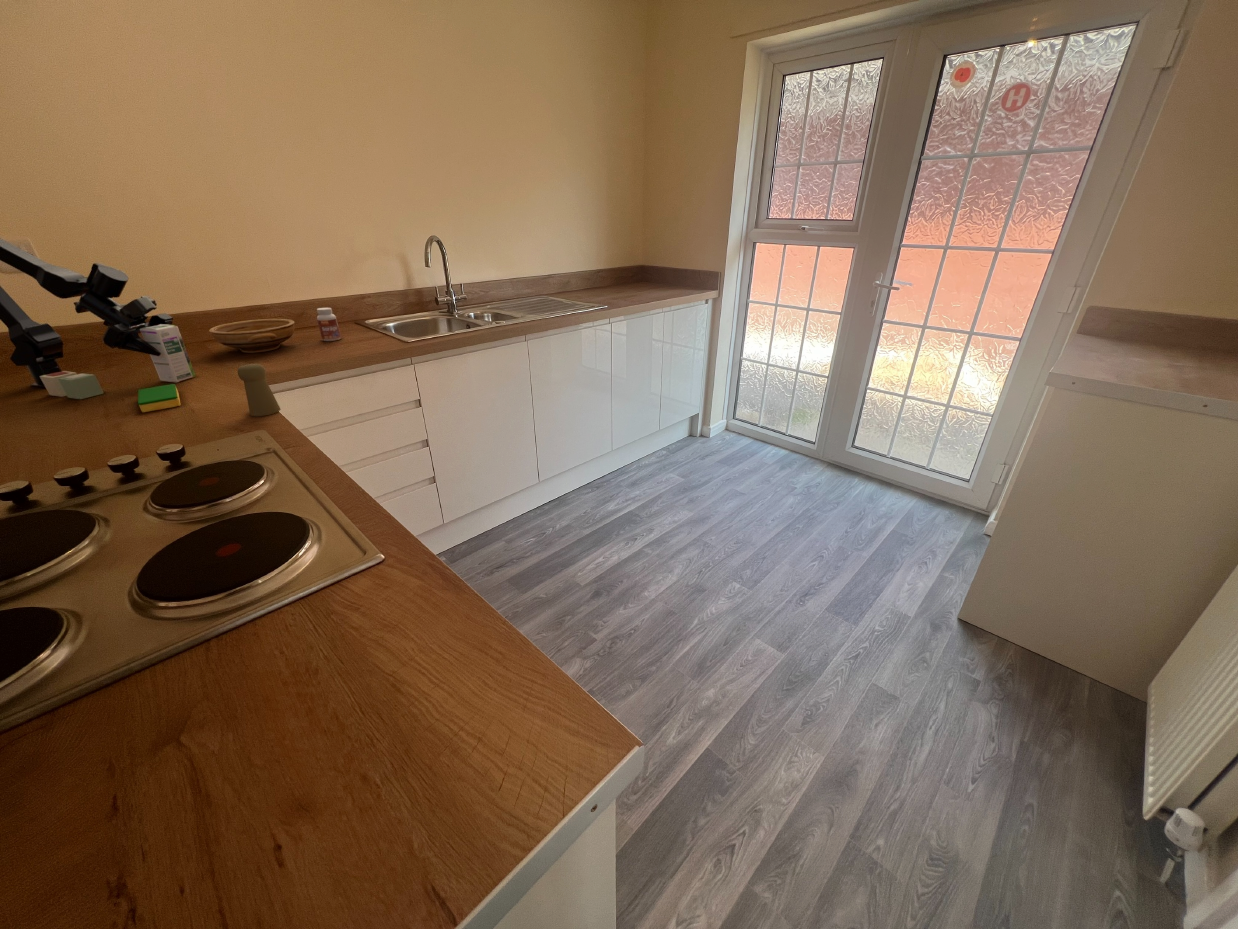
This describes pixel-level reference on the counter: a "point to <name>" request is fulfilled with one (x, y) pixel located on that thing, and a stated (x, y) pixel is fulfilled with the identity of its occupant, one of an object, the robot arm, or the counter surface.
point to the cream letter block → (55, 382)
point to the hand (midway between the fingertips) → (172, 350)
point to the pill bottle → (328, 325)
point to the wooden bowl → (254, 334)
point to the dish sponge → (158, 398)
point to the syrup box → (169, 353)
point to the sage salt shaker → (258, 390)
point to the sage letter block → (81, 386)
